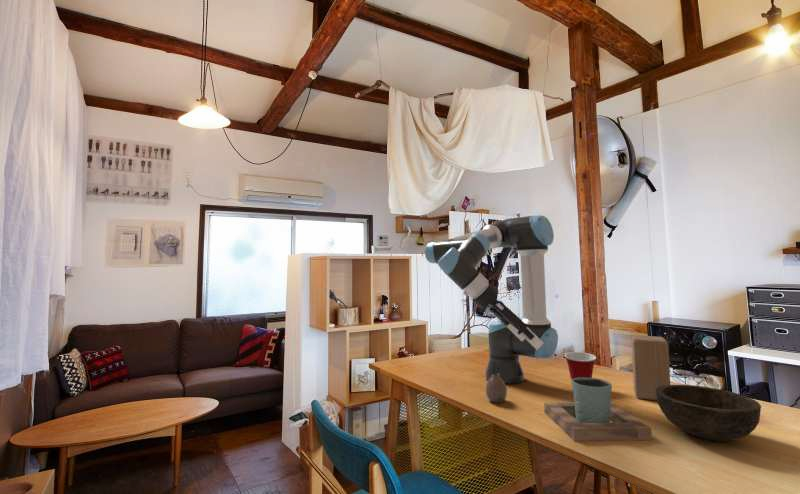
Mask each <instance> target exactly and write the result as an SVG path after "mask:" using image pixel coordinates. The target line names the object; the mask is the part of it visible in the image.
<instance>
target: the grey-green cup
mask: <svg viewBox="0 0 800 494" xmlns="http://www.w3.org/2000/svg"><path fill="white" fill-rule="evenodd" d="M571 384H572V391H573V402H575V403H574V404H575V413H576V416H575V419H576V420H577V421H579V422H580V423H611V421H610V409H611V404H610V403H612V400H611V397H612V383H611V382H609V381H608V380H604V379H600V378H594V377H592V378H586V377H581V378H574V379H572V380H571Z"/></svg>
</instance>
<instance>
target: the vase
mask: <svg viewBox="0 0 800 494" xmlns="http://www.w3.org/2000/svg"><path fill="white" fill-rule="evenodd" d="M506 385H507V384H505V383H504V381H503V380H502V379H501V377H500V375H499V374H492V376H491V378H490V379H489V380H487V382H486V385H485V394H486V397H487V399H488V400H489V401H490V402H492V403H494V404H500V403H503V402H504V401H505V400H506V399H507V392H508V391H507V389H508V388H507V386H506Z"/></svg>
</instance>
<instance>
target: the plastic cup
mask: <svg viewBox="0 0 800 494" xmlns="http://www.w3.org/2000/svg"><path fill="white" fill-rule="evenodd" d="M564 358H565V360H566V363H567V365H568V371H569V375H570V380H571V381H572V379H574V378H581V377H586V378H593V371H594V365H595V362H596V359H597V357H596V355H594V354H592V353H588V352H582V351H571V352H566V353H565V354H564Z"/></svg>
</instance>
